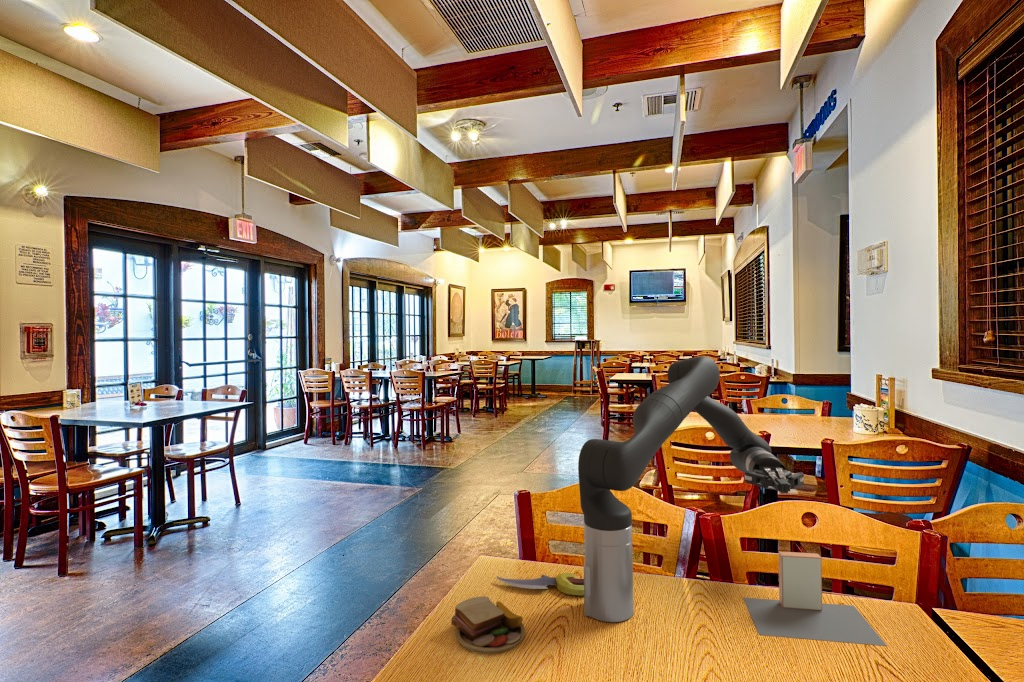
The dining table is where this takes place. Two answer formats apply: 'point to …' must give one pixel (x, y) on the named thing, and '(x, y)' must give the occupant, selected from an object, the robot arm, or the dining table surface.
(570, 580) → the knife
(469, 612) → the toy sandwich meal
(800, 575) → the tile
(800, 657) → the dining table surface
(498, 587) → the dining table surface
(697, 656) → the dining table surface
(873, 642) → the mat
